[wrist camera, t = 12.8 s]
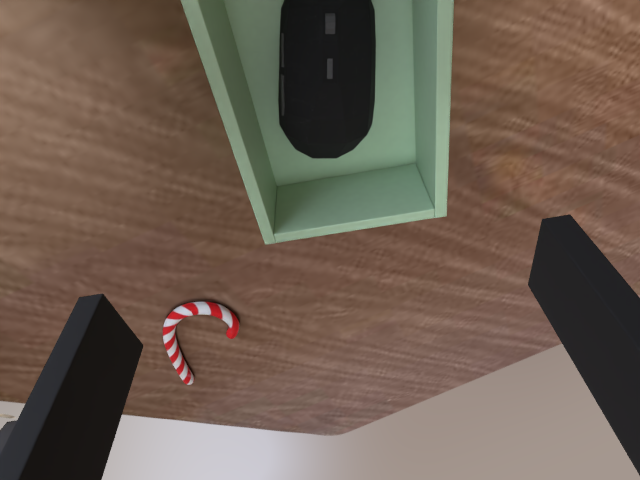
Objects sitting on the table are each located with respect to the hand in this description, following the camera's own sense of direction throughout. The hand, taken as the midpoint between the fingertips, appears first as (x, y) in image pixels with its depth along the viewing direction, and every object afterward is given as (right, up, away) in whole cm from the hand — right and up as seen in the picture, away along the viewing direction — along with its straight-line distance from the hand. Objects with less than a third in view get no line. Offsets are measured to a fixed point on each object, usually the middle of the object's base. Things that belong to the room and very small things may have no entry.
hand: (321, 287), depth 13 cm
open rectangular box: (0, +14, +14) cm, 20 cm away
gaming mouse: (0, +14, +14) cm, 20 cm away
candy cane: (-14, -10, +34) cm, 38 cm away
